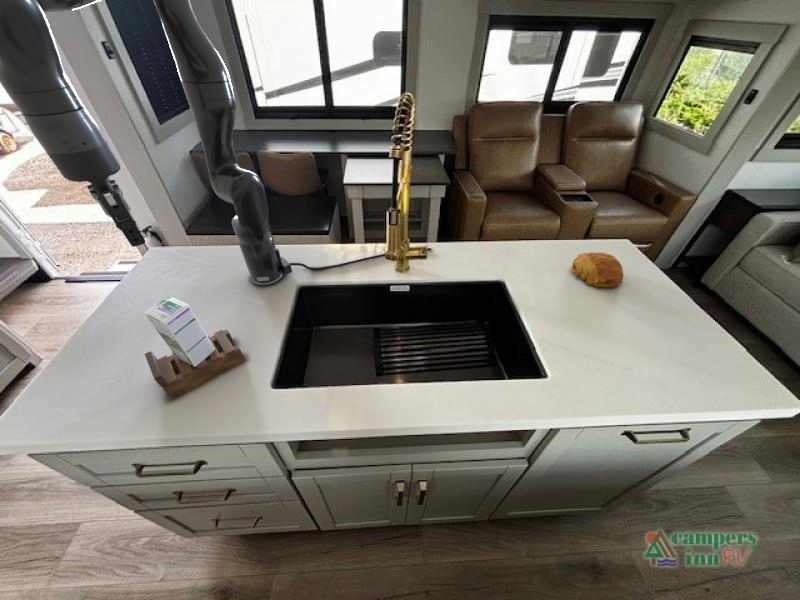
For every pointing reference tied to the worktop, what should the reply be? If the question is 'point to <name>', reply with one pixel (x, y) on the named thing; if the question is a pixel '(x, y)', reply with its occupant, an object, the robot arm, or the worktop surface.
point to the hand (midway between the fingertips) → (133, 234)
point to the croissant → (598, 269)
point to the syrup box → (180, 330)
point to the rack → (194, 376)
